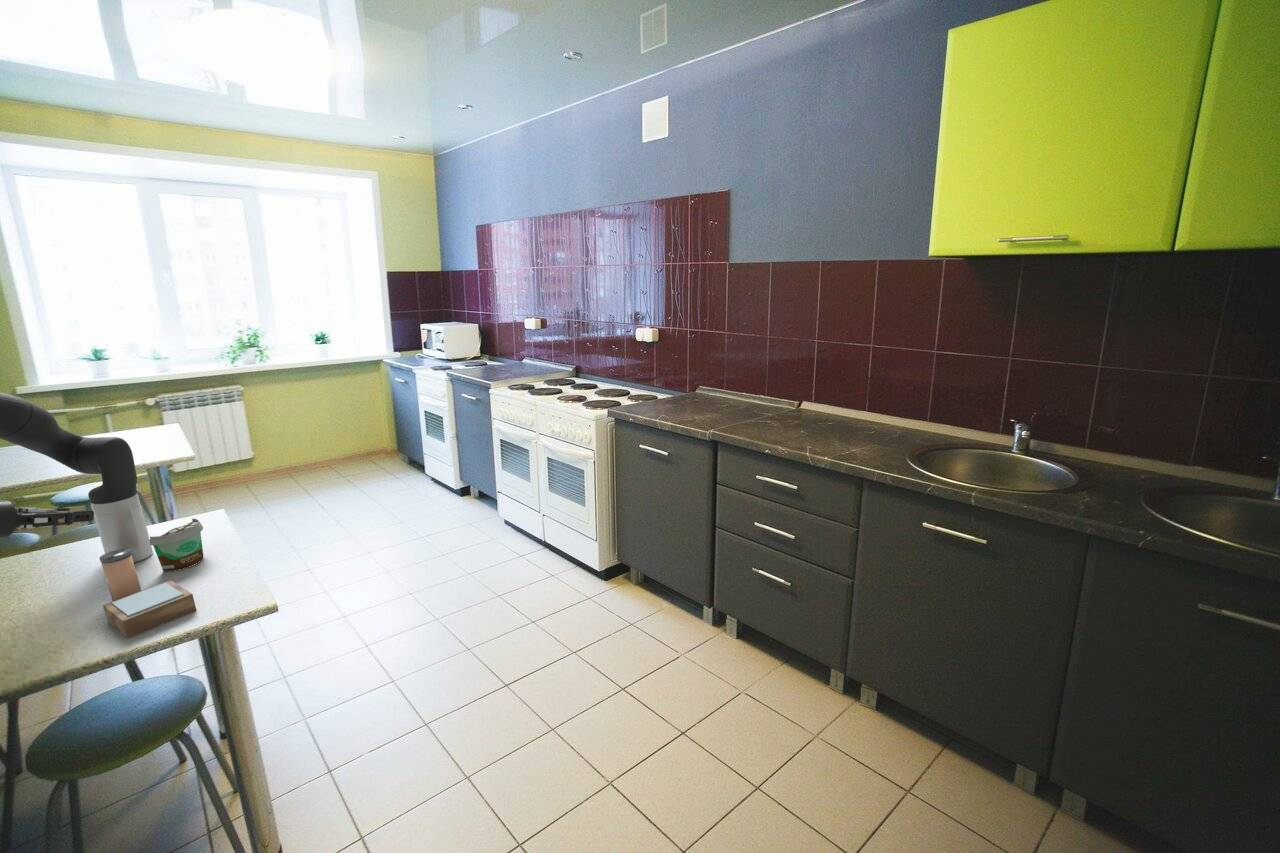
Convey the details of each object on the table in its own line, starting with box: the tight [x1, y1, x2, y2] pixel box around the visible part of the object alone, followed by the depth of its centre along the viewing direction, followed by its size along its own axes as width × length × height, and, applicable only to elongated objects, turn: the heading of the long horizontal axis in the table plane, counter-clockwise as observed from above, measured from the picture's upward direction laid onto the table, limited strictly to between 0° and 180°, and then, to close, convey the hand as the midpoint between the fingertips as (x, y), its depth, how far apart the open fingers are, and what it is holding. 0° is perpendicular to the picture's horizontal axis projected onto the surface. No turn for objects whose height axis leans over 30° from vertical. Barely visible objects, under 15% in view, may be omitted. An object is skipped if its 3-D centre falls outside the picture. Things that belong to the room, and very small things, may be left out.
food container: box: [149, 518, 204, 572], centre depth 149 cm, size 12×6×10 cm, turn 168°
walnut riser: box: [102, 580, 197, 639], centre depth 126 cm, size 12×12×4 cm
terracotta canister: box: [99, 549, 142, 602], centre depth 133 cm, size 5×5×11 cm
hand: (80, 514), depth 124 cm, fingers open, 8 cm apart
